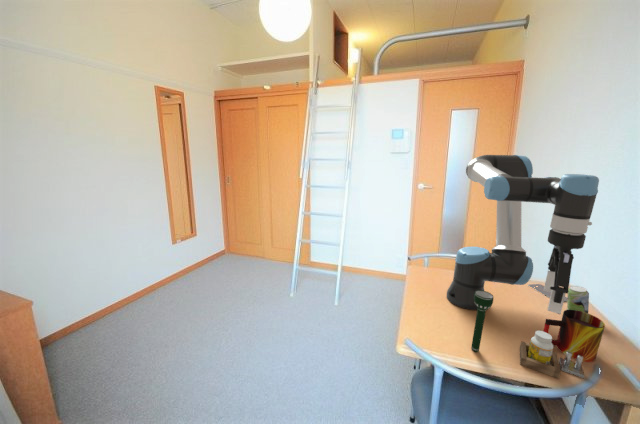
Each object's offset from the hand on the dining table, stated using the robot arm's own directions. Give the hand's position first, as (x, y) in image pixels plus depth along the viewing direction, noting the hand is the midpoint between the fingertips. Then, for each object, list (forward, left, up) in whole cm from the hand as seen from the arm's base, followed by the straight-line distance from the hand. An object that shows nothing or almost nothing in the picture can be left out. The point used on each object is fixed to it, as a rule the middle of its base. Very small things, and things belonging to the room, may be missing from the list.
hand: (551, 300), depth 80 cm
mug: (+9, +11, -21) cm, 25 cm away
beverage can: (+14, +39, -21) cm, 46 cm away
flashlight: (-16, -6, -21) cm, 27 cm away
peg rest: (+8, +2, -21) cm, 22 cm away
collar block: (0, -1, -21) cm, 21 cm away
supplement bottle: (0, 0, -21) cm, 21 cm away
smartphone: (+7, +56, -21) cm, 60 cm away
